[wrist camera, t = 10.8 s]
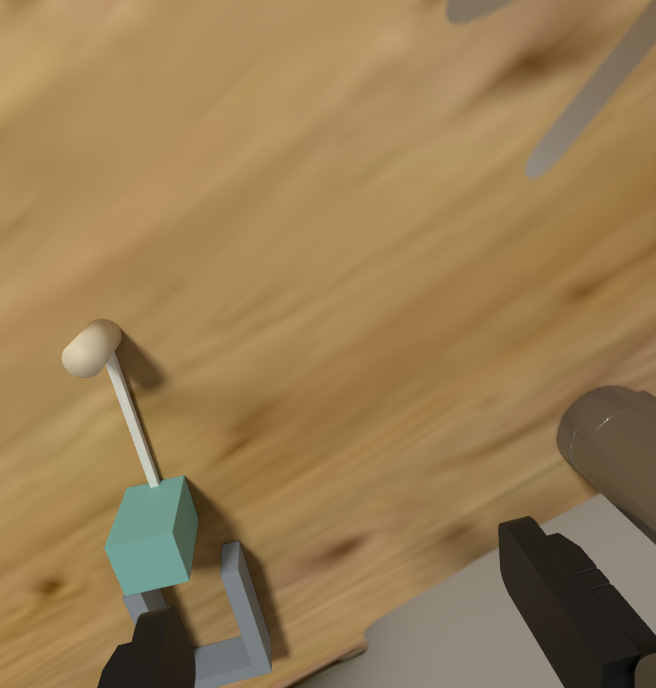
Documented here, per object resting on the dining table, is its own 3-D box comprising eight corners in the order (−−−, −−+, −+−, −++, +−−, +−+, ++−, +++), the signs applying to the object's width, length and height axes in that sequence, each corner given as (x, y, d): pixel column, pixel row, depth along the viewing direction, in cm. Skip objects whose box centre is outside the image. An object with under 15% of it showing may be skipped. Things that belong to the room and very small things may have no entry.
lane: (239, 540, 45) (238, 569, 42) (270, 639, 51) (271, 672, 48) (131, 567, 45) (122, 598, 42) (175, 664, 50) (169, 699, 47)
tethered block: (131, 313, 36) (105, 345, 30) (198, 519, 44) (189, 581, 37) (64, 325, 36) (23, 361, 29) (143, 531, 44) (125, 596, 37)
